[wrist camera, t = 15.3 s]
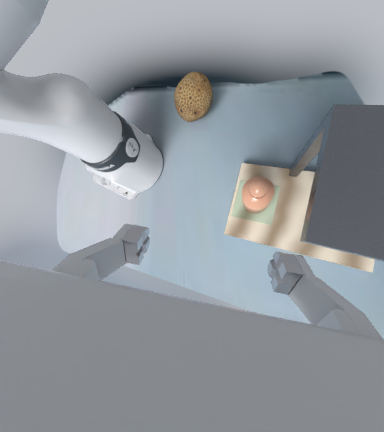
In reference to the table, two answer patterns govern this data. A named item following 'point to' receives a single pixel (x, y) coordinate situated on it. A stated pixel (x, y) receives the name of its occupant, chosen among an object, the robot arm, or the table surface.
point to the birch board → (283, 216)
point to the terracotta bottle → (257, 194)
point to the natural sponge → (193, 96)
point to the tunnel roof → (346, 181)
